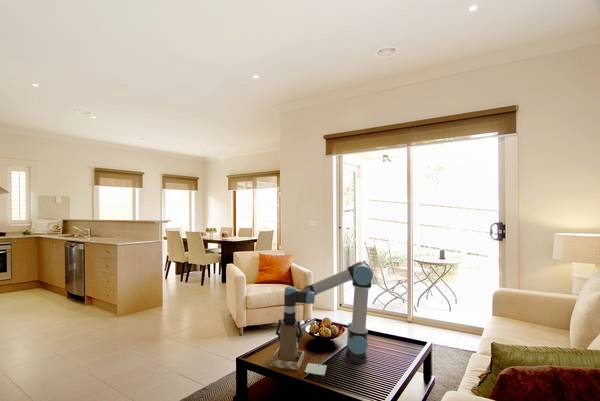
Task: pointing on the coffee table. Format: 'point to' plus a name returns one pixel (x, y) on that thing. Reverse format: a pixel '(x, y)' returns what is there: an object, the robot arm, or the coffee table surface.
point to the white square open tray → (286, 363)
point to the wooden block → (288, 341)
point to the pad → (315, 369)
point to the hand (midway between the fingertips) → (288, 346)
